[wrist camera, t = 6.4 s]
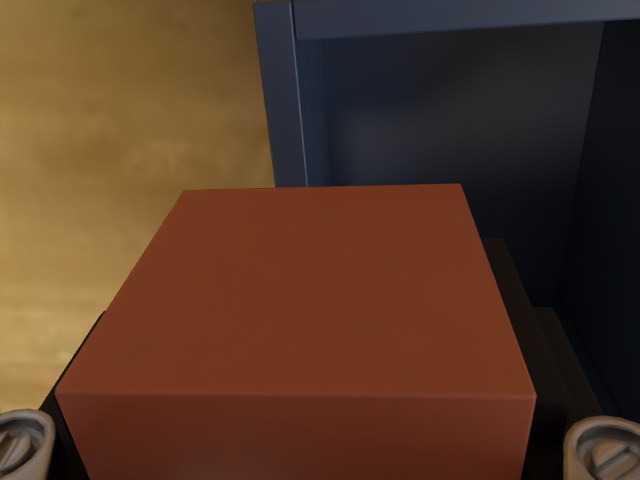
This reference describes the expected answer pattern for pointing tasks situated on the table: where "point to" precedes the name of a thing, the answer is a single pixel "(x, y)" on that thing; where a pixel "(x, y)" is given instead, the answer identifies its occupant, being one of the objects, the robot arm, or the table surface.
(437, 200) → the block
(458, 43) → the chest
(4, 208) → the table surface
